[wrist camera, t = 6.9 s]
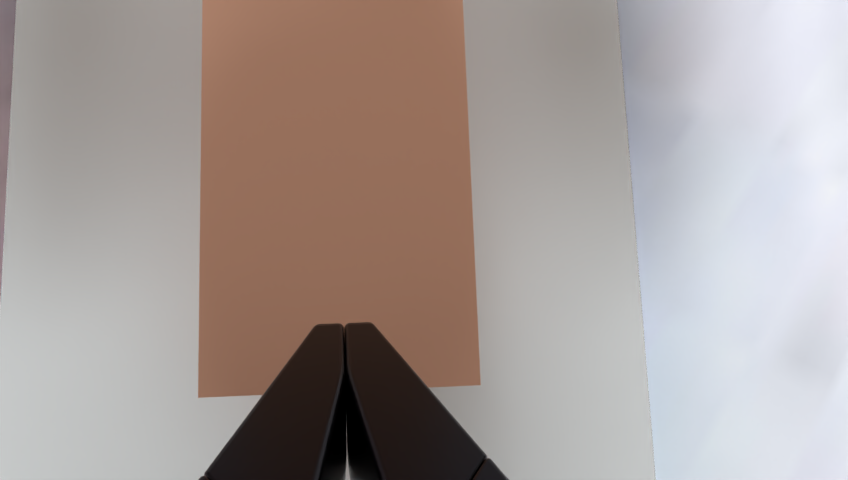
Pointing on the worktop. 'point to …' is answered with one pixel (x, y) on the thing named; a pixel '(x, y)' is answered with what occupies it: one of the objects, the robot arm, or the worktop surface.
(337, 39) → the terracotta block
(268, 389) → the robot arm
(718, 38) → the worktop surface
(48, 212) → the rubber mat
